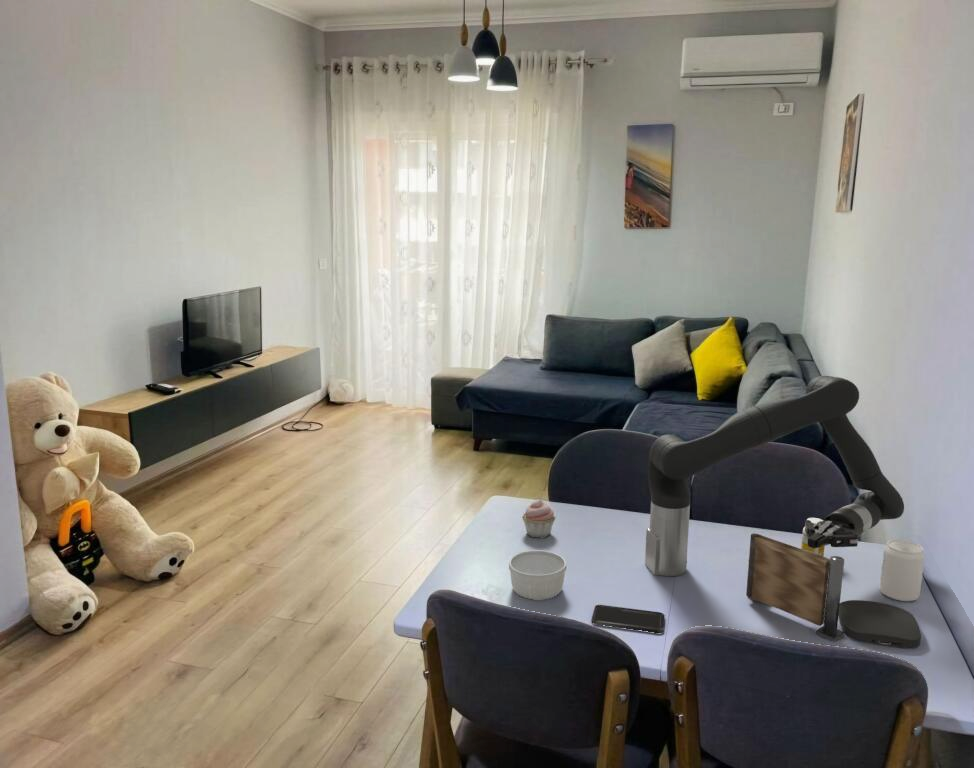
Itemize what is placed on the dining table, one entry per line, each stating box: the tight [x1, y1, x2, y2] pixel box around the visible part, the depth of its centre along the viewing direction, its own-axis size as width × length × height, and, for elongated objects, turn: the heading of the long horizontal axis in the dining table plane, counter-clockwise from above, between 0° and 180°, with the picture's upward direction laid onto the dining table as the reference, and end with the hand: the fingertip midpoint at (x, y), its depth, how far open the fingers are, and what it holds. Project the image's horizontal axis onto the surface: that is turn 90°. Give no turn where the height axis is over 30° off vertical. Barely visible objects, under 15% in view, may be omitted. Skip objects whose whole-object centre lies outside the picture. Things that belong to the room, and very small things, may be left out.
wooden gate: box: [745, 532, 830, 627], centre depth 168 cm, size 18×2×14 cm, turn 40°
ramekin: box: [508, 549, 567, 601], centre depth 180 cm, size 13×13×7 cm
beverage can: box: [879, 539, 926, 602], centre depth 177 cm, size 8×8×12 cm
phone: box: [590, 604, 666, 634], centre depth 168 cm, size 8×1×15 cm
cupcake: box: [521, 498, 557, 538], centre depth 211 cm, size 9×9×10 cm
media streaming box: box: [838, 599, 922, 650], centre depth 164 cm, size 15×15×3 cm
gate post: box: [747, 555, 845, 643], centre depth 167 cm, size 22×6×17 cm, turn 40°
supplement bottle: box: [800, 517, 826, 557], centre depth 197 cm, size 5×5×10 cm
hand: (811, 543), depth 173 cm, fingers closed
